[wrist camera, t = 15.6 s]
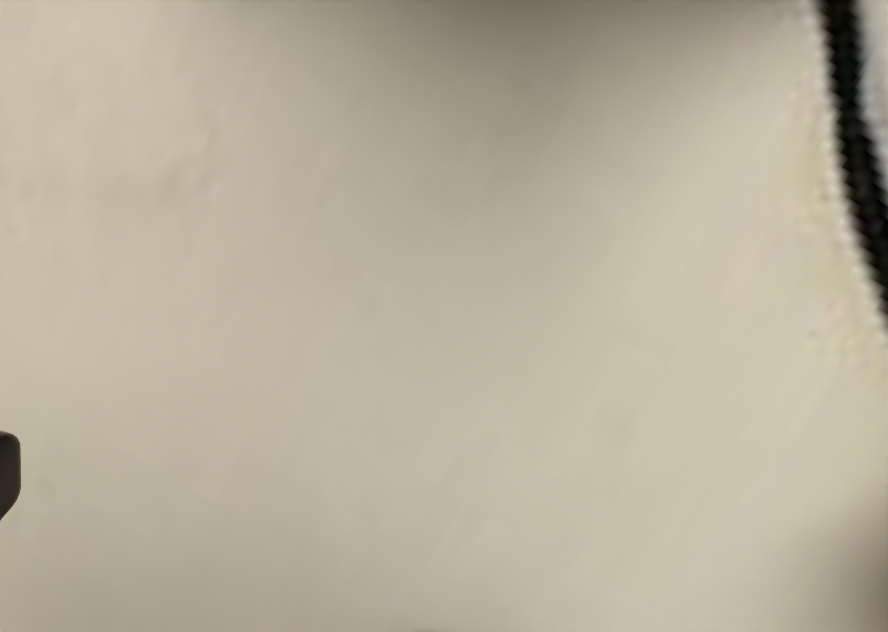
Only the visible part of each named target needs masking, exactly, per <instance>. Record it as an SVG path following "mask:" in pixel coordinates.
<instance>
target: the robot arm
mask: <svg viewBox="0 0 888 632" xmlns="http://www.w3.org/2000/svg"><path fill="white" fill-rule="evenodd" d="M20 489H21V458H20V442H19V440H18V438H17V437H16V436H14V435H13V434H10V433H7V432H3V431H0V520H1V519H2V518H3V516H4V515H5V514H6V513H7V512H8V511H9V510H10V509H11V507H12V506H13V505H14V503H15V502H16V500H17V498H18V496H19V493H20Z"/></svg>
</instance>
